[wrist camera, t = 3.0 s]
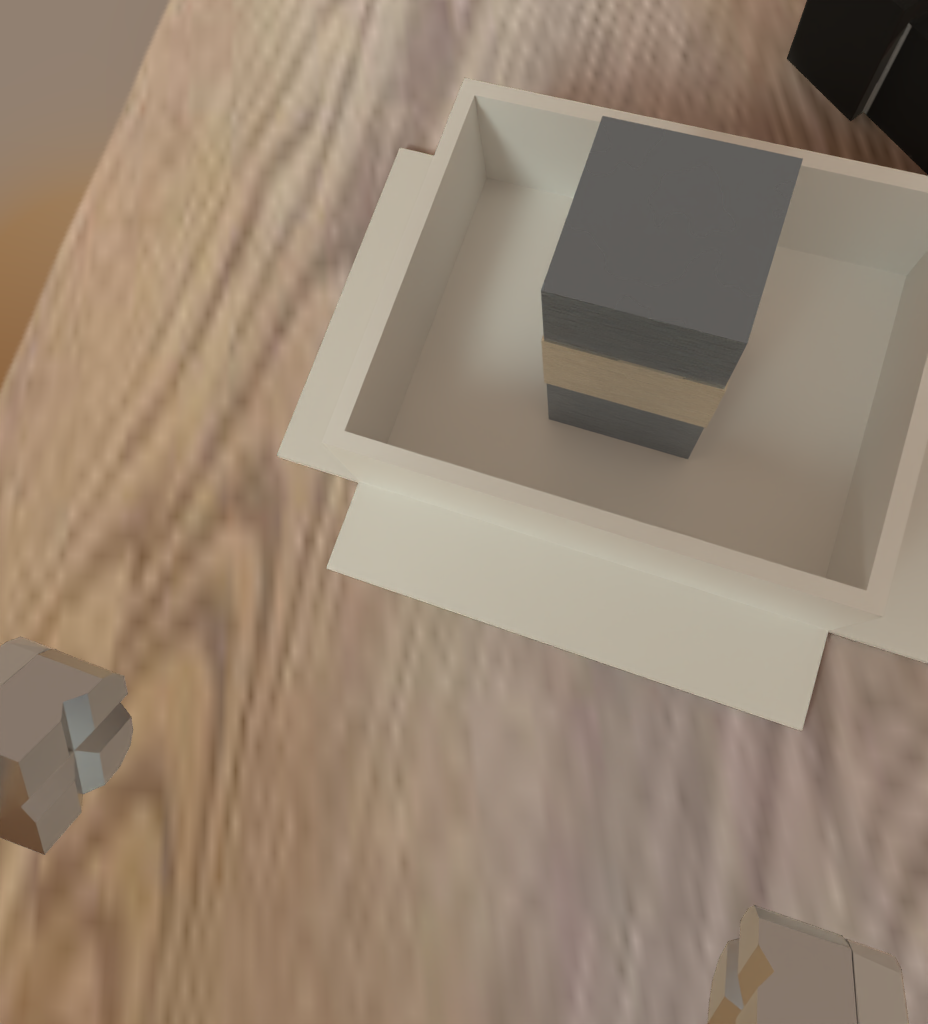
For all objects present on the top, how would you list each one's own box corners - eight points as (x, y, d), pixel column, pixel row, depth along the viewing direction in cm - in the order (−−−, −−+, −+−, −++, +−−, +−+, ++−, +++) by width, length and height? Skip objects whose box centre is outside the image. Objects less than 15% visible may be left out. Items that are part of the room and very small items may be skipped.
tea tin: (689, 461, 25) (749, 346, 17) (546, 420, 26) (537, 291, 18) (729, 328, 26) (806, 157, 18) (590, 293, 27) (600, 113, 19)
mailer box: (907, 767, 23) (986, 783, 19) (246, 541, 27) (184, 510, 22) (1019, 297, 26) (1112, 215, 21) (401, 153, 29) (373, 58, 25)
